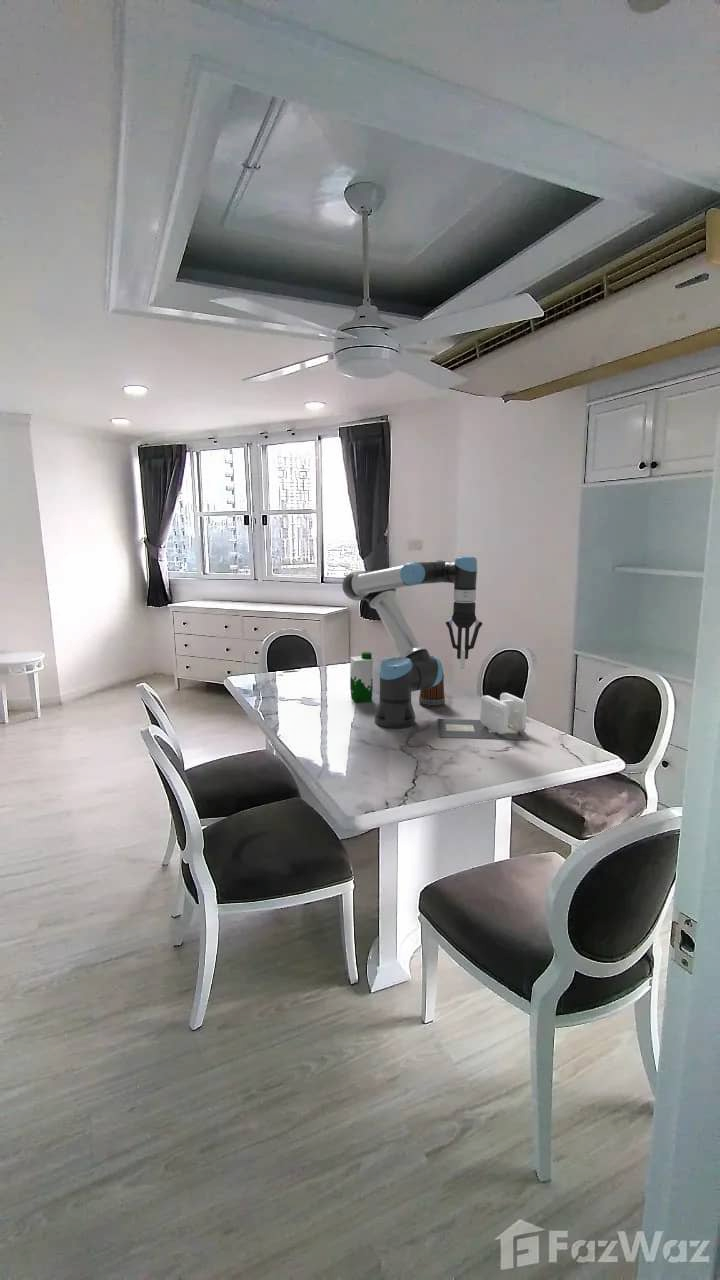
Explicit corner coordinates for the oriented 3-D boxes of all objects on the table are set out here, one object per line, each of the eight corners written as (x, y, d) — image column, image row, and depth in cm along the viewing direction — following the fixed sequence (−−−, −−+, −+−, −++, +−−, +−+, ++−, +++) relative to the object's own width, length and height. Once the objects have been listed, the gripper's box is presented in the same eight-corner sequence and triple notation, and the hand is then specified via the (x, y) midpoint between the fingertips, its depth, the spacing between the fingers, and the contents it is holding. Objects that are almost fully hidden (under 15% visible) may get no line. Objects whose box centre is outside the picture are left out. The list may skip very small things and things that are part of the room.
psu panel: (439, 737, 209) (439, 736, 209) (437, 719, 228) (437, 718, 228) (528, 740, 206) (528, 739, 206) (518, 721, 226) (518, 721, 226)
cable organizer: (527, 734, 212) (529, 702, 209) (501, 737, 208) (503, 705, 206) (502, 721, 225) (504, 691, 223) (478, 724, 222) (479, 693, 219)
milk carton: (374, 702, 250) (374, 655, 246) (353, 703, 247) (353, 656, 244) (369, 696, 258) (369, 650, 254) (348, 698, 256) (348, 651, 252)
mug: (446, 708, 242) (447, 671, 240) (419, 707, 243) (420, 671, 240) (441, 697, 258) (442, 662, 255) (416, 697, 258) (417, 662, 255)
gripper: (446, 602, 206) (443, 669, 211) (484, 603, 205) (481, 670, 210) (445, 599, 214) (443, 665, 218) (482, 600, 213) (479, 666, 217)
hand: (462, 667), depth 214 cm, fingers closed
